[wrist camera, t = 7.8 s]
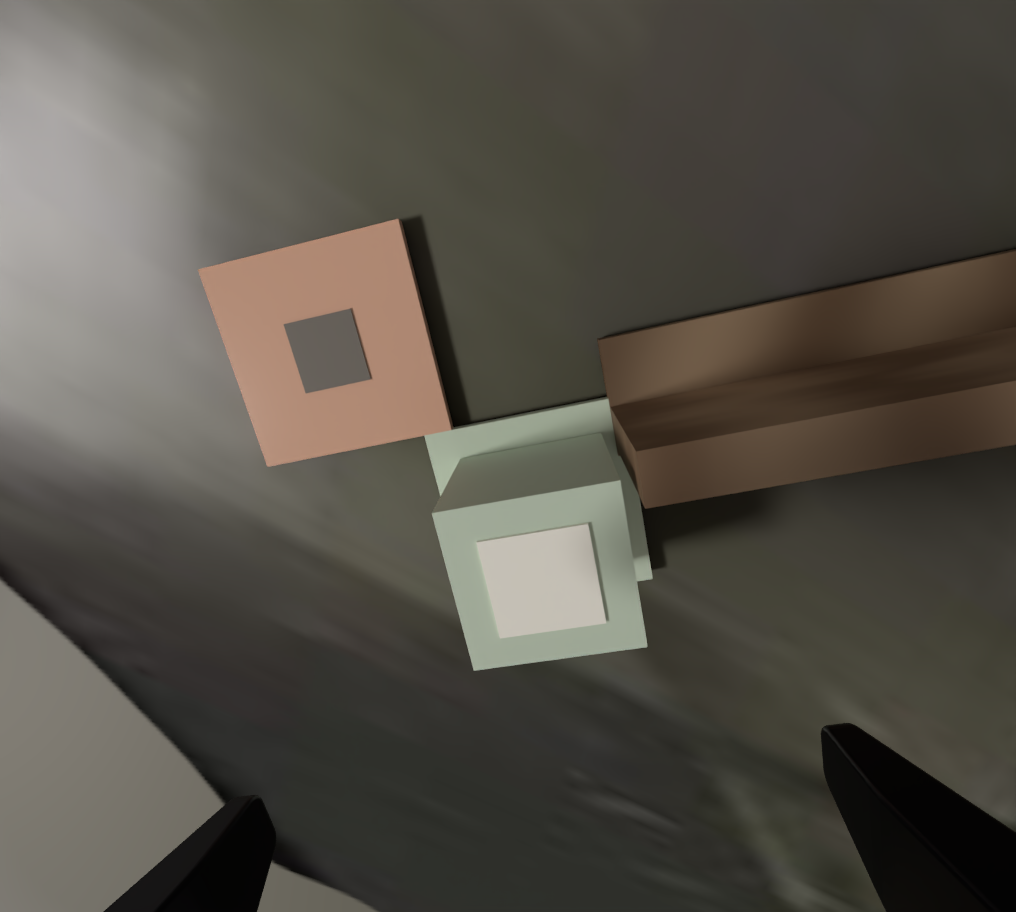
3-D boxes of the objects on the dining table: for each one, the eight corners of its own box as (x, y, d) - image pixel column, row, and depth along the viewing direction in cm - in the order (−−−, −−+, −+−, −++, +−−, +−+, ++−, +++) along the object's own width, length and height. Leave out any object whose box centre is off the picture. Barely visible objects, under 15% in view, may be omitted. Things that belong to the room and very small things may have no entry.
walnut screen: (1056, 240, 16) (1333, 210, 11) (1049, 369, 17) (1298, 406, 12) (596, 338, 18) (621, 358, 12) (616, 451, 19) (647, 518, 13)
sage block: (601, 432, 18) (620, 481, 14) (623, 564, 20) (648, 652, 15) (460, 458, 19) (431, 514, 14) (491, 585, 20) (474, 675, 16)
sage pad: (621, 393, 19) (623, 396, 18) (650, 573, 20) (652, 579, 20) (426, 432, 19) (423, 436, 19) (471, 601, 21) (470, 608, 21)
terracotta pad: (401, 220, 17) (397, 218, 17) (453, 427, 19) (451, 430, 19) (204, 270, 18) (196, 269, 18) (272, 463, 20) (266, 467, 20)
